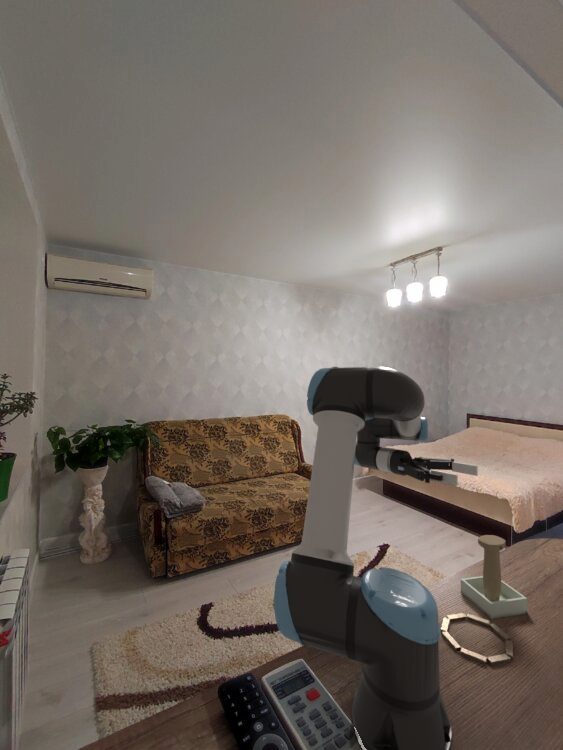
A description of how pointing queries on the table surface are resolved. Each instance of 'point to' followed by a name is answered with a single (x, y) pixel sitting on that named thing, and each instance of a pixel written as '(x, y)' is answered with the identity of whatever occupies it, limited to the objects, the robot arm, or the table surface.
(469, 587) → the bin
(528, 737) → the table surface
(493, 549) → the handle
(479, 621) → the collar ring
